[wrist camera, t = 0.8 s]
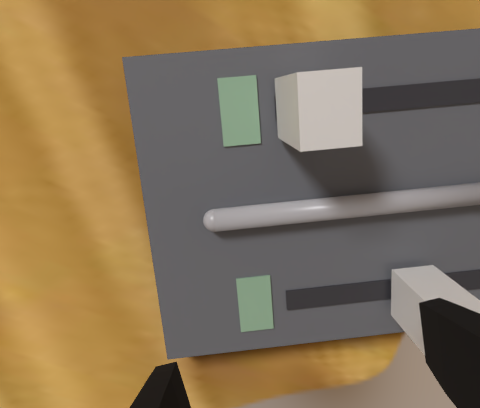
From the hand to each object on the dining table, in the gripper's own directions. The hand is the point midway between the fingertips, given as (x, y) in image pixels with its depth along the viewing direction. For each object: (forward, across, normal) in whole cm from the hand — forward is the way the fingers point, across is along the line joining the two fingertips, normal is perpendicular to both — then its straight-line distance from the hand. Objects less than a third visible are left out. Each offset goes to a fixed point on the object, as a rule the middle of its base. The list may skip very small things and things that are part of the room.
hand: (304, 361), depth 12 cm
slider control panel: (+10, -5, -2) cm, 11 cm away
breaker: (+7, -3, -7) cm, 10 cm away
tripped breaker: (+7, -6, +3) cm, 10 cm away
